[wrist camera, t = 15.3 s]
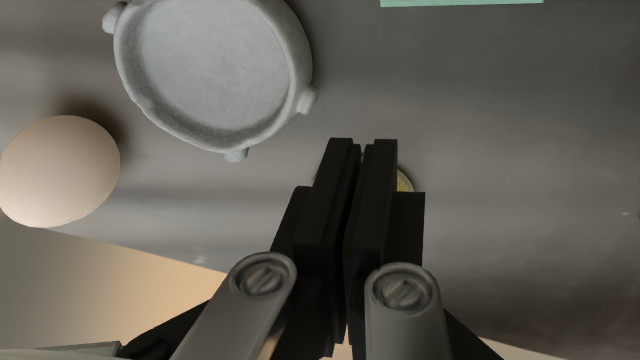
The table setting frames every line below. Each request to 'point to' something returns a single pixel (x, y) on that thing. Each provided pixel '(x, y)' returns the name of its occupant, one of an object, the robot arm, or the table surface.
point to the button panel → (449, 2)
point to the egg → (57, 171)
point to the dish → (214, 68)
